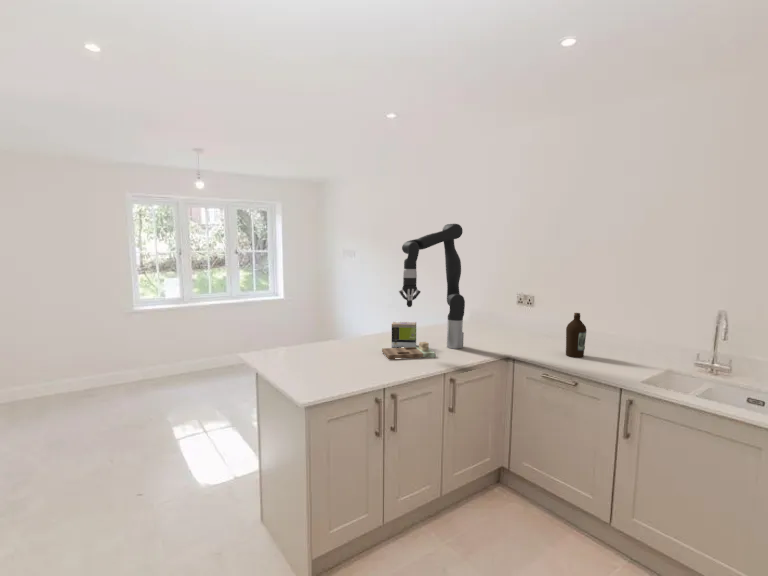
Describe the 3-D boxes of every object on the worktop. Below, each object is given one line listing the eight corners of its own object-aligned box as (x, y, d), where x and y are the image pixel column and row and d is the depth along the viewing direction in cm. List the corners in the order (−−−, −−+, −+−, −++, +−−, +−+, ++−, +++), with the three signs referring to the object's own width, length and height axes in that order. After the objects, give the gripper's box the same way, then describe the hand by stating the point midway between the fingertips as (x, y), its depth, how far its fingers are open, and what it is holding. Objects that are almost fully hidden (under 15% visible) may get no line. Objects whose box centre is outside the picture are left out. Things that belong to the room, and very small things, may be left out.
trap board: (426, 350, 251) (426, 346, 251) (435, 357, 237) (435, 352, 237) (382, 352, 245) (382, 348, 245) (388, 359, 230) (388, 355, 230)
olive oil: (560, 354, 246) (563, 312, 243) (571, 352, 252) (574, 311, 249) (577, 359, 237) (580, 315, 234) (588, 356, 243) (591, 313, 240)
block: (425, 348, 246) (425, 341, 246) (428, 350, 243) (428, 343, 242) (419, 349, 245) (419, 342, 244) (422, 350, 241) (422, 343, 241)
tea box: (416, 344, 266) (416, 321, 264) (415, 348, 256) (416, 324, 254) (392, 343, 267) (392, 320, 266) (391, 347, 257) (391, 323, 256)
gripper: (418, 276, 246) (418, 305, 248) (397, 276, 243) (396, 306, 245) (423, 277, 239) (422, 307, 241) (400, 277, 236) (400, 308, 238)
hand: (409, 306), depth 243 cm, fingers closed
